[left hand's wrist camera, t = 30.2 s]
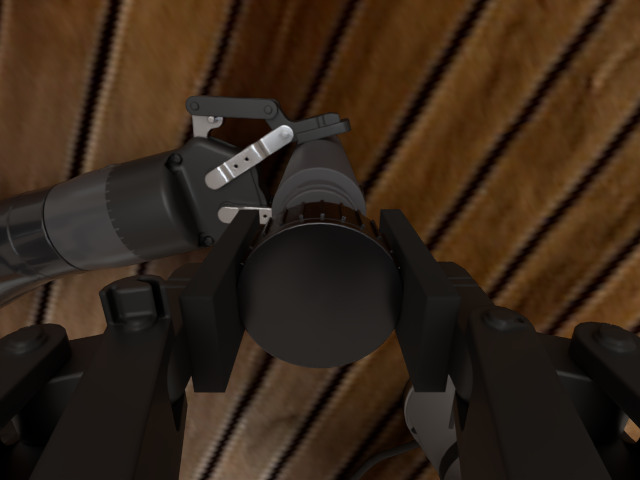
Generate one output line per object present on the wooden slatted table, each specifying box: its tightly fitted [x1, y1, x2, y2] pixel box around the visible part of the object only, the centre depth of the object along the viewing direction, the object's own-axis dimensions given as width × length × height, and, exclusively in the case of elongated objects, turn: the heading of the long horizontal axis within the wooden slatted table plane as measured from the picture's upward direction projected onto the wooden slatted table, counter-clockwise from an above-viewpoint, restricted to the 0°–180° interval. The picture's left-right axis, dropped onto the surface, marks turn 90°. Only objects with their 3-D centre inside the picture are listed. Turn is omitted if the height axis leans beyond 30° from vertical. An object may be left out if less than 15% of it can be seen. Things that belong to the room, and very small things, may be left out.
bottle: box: [272, 135, 366, 218], centre depth 24 cm, size 4×4×19 cm
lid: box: [236, 200, 403, 368], centre depth 11 cm, size 5×5×2 cm
